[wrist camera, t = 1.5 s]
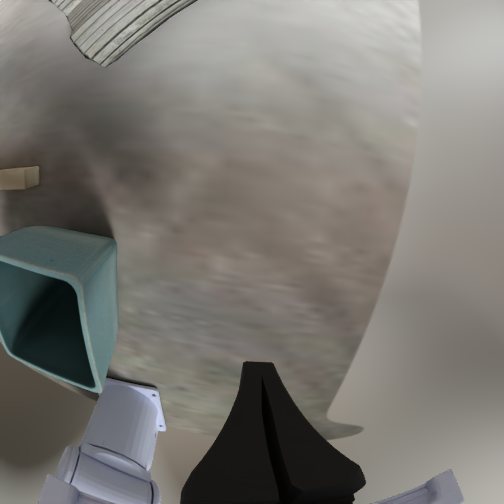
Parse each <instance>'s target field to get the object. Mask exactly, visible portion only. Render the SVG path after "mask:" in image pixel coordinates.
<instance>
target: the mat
mask: <svg viewBox="0 0 504 504" xmlns="http://www.w3.org/2000/svg"><path fill="white" fill-rule="evenodd" d="M49 1H51V2H52V3H54V4H55V5H56V6H57V7H58V8H59V9H60V10H61V11H62V12H65V11H66V10H67V9H68V8H69V7H70V6H72V5H73V4H74V3H75V2H76V1H77V0H49ZM196 1H197V0H82V1H81V2H80V3H79V4H78V5H77V6H76V7H75V8H74V9H73V10H72V11H71V12H70V13H69V14H68V15H67V16H66V17H67V19H68V21H69V23H70V25H71V28H72V30H73V32H72V34H71V36H70V39H71V40H72V42H73V43H74V45H75V46H76V47H77V48H78V49H79V51H80V52H81V53H82V54H83V55H84V56H85V58H87V59H90V60H92V61H95V62H96V63H98V64H100V65H101V66H103V67H104V68H105V67H107V66H108V65H110V64H111V63H113V62H115V61H116V60H118V59H119V58H120V57H121V56H122V55H123V54H124V53H125V52H127V51H128V50H129V49H130V48H131V47H133V46H134V45H135V44H137V43H138V42H139V41H140V40H142V39H143V38H145V37H146V36H147V35H149V34H150V33H151V32H153V31H154V30H155V29H156V28H158V27H159V26H160V25H161V24H163V23H164V22H165V21H167V20H168V19H169V18H171V17H172V16H173V15H175V14H176V13H178V12H180V11H181V10H183V9H184V8H186V7H188V6H189V5H191V4H193V3H194V2H196ZM64 14H65V13H64Z"/></svg>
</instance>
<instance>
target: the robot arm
mask: <svg viewBox="0 0 504 504" xmlns="http://www.w3.org/2000/svg"><path fill="white" fill-rule="evenodd" d="M98 394H99V398H98V401H97V403H96V406H95V408H94V411H93V413H92V416H91V418H90V421H89V424H88V426H87V429H86V432H85V434H84V437H83V440H82V443H81V445H80V446H79V447H77V446H76V445H72V446H68V447H67V448H66V449H65V451H64V453H63V455H62V458H61V460H60V463H59V466H58V468H57V471H56V474H55V477H54V476H52V475H50V474H48V475H47V476H46V479H45V482H44V486H43V489H42V492H41V496H40V499H39V502H38V504H161V494H160V491H159V489H158V486H157V484H156V483H155V482H154V481H153V480H151V476H152V473H151V472H149V471H148V470H149V469H150V467H151V465H152V460H153V455H154V449H155V444H156V439H157V434H158V430H159V431H166V425H165V421H164V416H163V412H162V407H161V402H160V397H159V392H158V390H157V389H156V388H153V387H148V386H142V385H137V384H132V383H127V382H123V381H118V380H114V379H110V378H106V379H105V383H104V386H103V391H102V393H98ZM365 484H366V480H365V477H364V474H363V472H362V470H361V468H360V466H359V465H357V464H356V463H355V462H353V461H351V460H350V459H349V458H347V457H346V456H344V455H343V454H342V453H340V452H339V451H338V450H337V449H335V448H334V447H333V446H332V445H331V444H330V443H329V442H327V441H326V440H325V439H324V438H323V437H322V436H321V435H320V434H319V433H318V432H317V431H316V430H315V429H314V428H313V427H312V425H311V424H310V423H309V422H308V421H307V419H306V418H305V417H304V416H303V414H302V413H301V412H300V410H299V409H298V407H297V406H296V405H295V403H294V402H293V400H292V398H291V397H290V395H289V393H288V392H287V390H286V388H285V387H284V385H283V383H282V381H281V379H280V377H279V375H278V373H277V371H276V368H275V366H274V364H273V363H271V362H249V361H246V362H244V363H243V367H242V373H241V380H240V386H239V391H238V394H237V397H236V400H235V402H234V405H233V407H232V410H231V412H230V414H229V416H228V419H227V421H226V422H225V424H224V426H223V428H222V430H221V432H220V433H219V435H218V437H217V438H216V440H215V442H214V443H213V445H212V446H211V448H210V449H209V450H208V452H207V453H206V455H205V456H204V457H203V459H202V460H201V461H200V462H199V464H198V465H197V466H196V467H195V469H194V470H193V471H192V472H191V474H190V476H189V478H188V480H187V481H186V483H185V485H184V487H183V489H182V492H181V501H180V504H353V503H352V502H353V501H354V500H355V498H354V495H353V494H354V493H355V492H357V491H358V490H360V489H361V488H362V487H363V486H364V485H365ZM463 501H464V498H463V495H462V493H461V490H460V488H459V486H458V483H457V481H456V479H455V477H454V474H453V472H452V470H451V469H449V470H447V471H445V472H443V473H441V474H439V475H437V476H435V477H433V478H432V479H430V480H429V481H427V482H426V483H425V484H423V485H421V486H418V487H416V488H414V489H411V490H409V491H406V492H404V493H401V494H398V495H396V496H393V497H390V498H387V499H384V500H381V501H378V502H375V503H371V504H460V503H462V502H463Z"/></svg>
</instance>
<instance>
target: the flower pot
mask: <svg viewBox="0 0 504 504" xmlns="http://www.w3.org/2000/svg"><path fill="white" fill-rule="evenodd" d="M117 331H118V294H117V244H116V241H115V240H114V239H112V238H109V237H103V236H98V235H93V234H88V233H83V232H78V231H73V230H68V229H63V228H58V227H52V226H30V227H25V228H22V229H18V230H16V231H13V232H10V233H8V234H5V235H3V236H0V338H1V341H2V343H3V346H4V348H5V350H6V351H7V353H8V354H9V355H10V356H12V357H13V358H15V359H17V360H19V361H21V362H23V363H24V364H26V365H29V366H31V367H33V368H35V369H37V370H39V371H42V372H44V373H46V374H48V375H51V376H54V377H56V378H58V379H61V380H63V381H66V382H68V383H71V384H73V385H76V386H78V387H81V388H83V389H86V390H89V391H92V392H97V393H102V391H103V386H104V383H105V379H106V375H107V371H108V368H109V364H110V361H111V357H112V354H113V350H114V347H115V343H116V338H117Z"/></svg>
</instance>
